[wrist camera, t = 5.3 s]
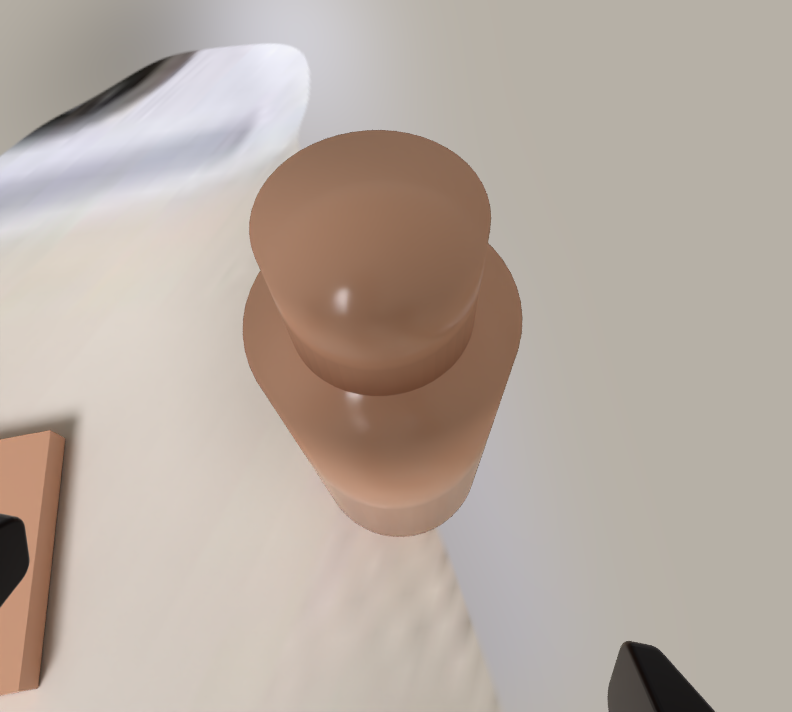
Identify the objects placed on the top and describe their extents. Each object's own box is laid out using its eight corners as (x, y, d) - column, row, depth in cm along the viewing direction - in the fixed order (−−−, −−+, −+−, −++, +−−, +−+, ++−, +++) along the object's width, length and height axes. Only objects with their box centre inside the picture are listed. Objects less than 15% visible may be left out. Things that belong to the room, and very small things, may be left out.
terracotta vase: (492, 520, 20) (609, 337, 8) (334, 550, 20) (188, 412, 7) (456, 377, 23) (498, 72, 10) (317, 403, 23) (188, 120, 10)
